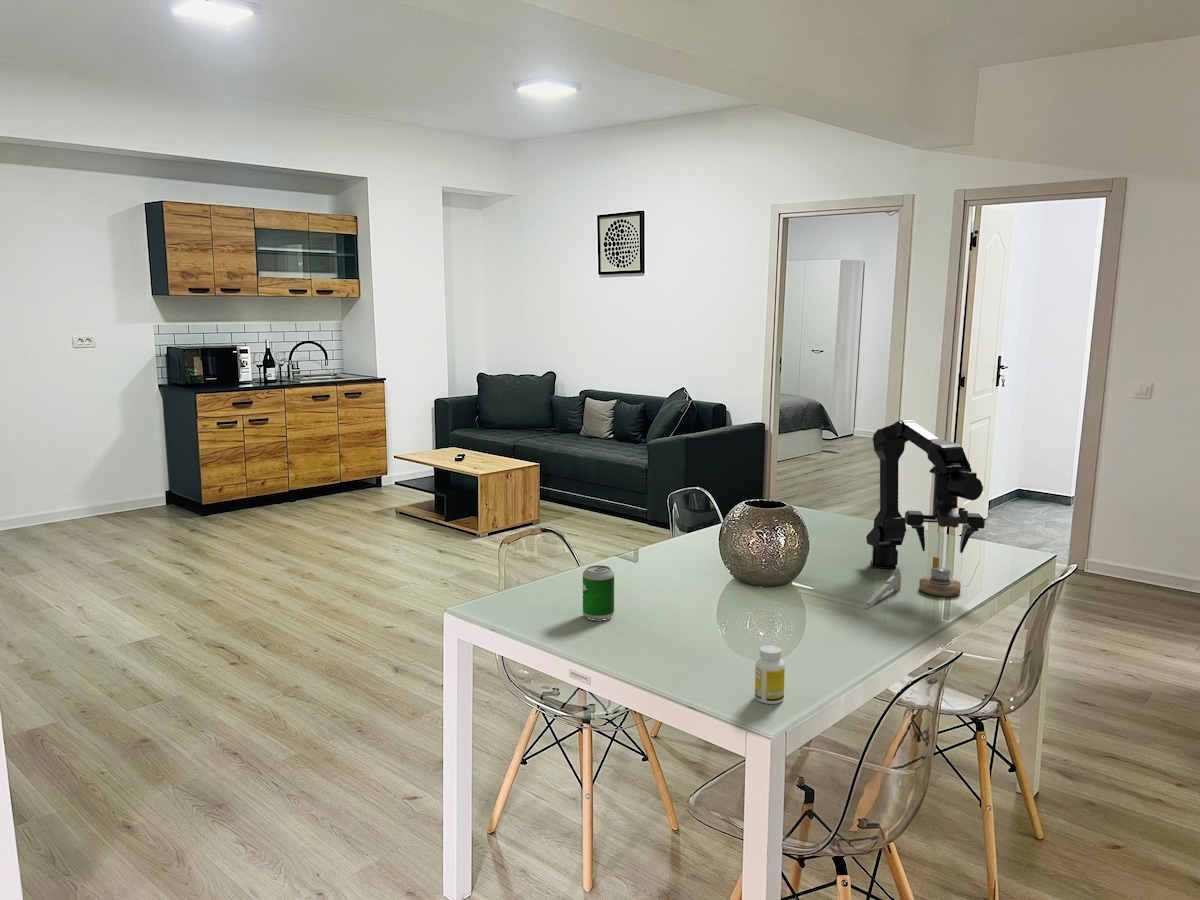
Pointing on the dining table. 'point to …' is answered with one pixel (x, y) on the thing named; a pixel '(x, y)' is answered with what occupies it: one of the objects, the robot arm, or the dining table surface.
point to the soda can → (598, 592)
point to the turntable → (939, 589)
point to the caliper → (886, 588)
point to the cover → (940, 576)
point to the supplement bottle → (769, 676)
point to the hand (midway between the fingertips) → (942, 551)
